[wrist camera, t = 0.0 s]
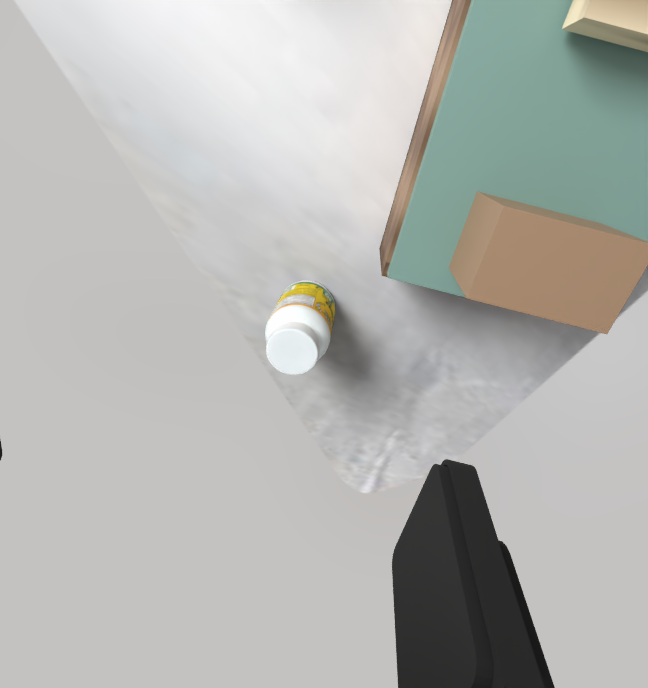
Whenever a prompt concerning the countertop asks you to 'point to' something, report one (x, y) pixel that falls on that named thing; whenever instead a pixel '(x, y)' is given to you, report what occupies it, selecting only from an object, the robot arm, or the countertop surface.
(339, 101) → the countertop surface
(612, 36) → the pale gold block
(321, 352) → the supplement bottle
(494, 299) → the lid
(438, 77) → the wooden box
